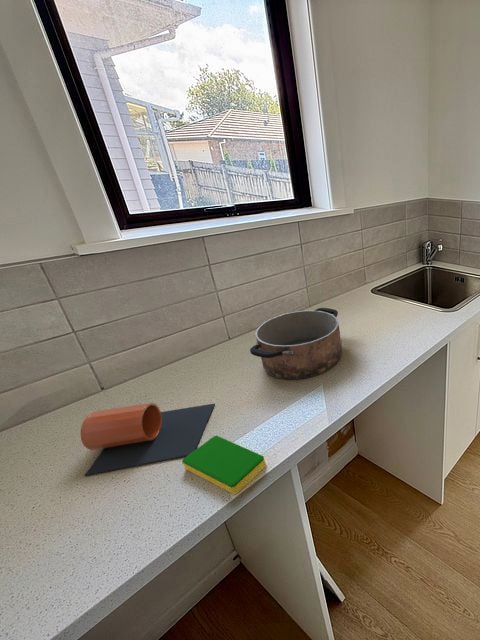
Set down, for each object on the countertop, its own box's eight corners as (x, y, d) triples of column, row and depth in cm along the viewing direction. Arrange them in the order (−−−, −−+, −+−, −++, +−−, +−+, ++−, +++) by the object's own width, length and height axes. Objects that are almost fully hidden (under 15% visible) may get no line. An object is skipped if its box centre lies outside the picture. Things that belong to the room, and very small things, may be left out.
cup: (73, 429, 63) (136, 419, 65) (98, 403, 69) (153, 395, 72) (91, 458, 66) (150, 448, 68) (112, 431, 73) (165, 422, 75)
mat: (85, 476, 63) (84, 474, 63) (127, 418, 77) (126, 417, 76) (193, 455, 67) (193, 453, 67) (215, 404, 81) (214, 403, 81)
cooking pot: (300, 397, 84) (292, 360, 79) (234, 377, 91) (223, 343, 86) (362, 342, 109) (360, 312, 104) (307, 330, 116) (302, 301, 111)
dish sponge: (235, 495, 59) (231, 486, 58) (184, 469, 64) (180, 460, 63) (267, 465, 65) (264, 456, 64) (218, 443, 70) (215, 434, 69)
